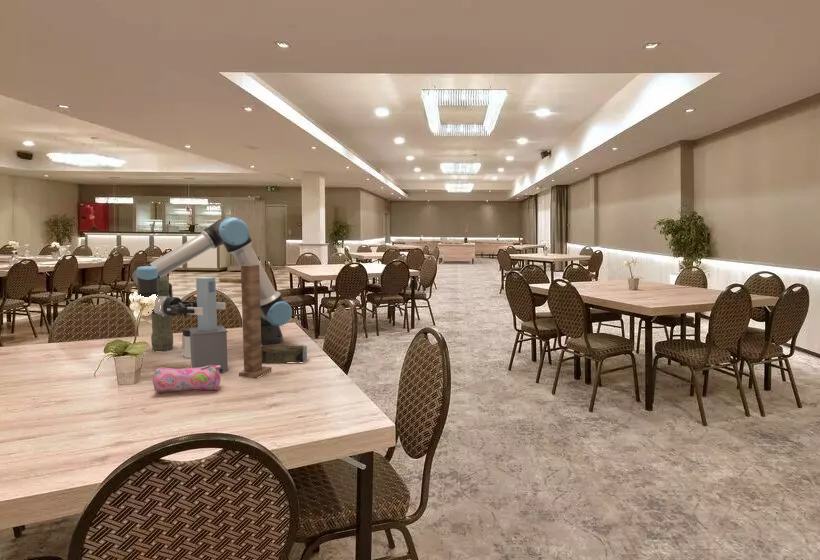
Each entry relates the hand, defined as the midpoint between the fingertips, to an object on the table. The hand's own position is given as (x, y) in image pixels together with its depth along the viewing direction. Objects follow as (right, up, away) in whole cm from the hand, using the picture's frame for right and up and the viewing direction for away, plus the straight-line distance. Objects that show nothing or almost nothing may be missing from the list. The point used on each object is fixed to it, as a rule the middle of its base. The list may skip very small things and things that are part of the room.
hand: (214, 308), depth 196 cm
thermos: (-37, -21, +35) cm, 55 cm away
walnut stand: (+12, -25, -1) cm, 28 cm away
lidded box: (-3, -24, +4) cm, 25 cm away
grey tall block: (-3, -8, +2) cm, 9 cm away
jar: (-18, -22, +24) cm, 37 cm away
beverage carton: (+23, -23, +16) cm, 36 cm away
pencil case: (0, -27, -22) cm, 35 cm away
